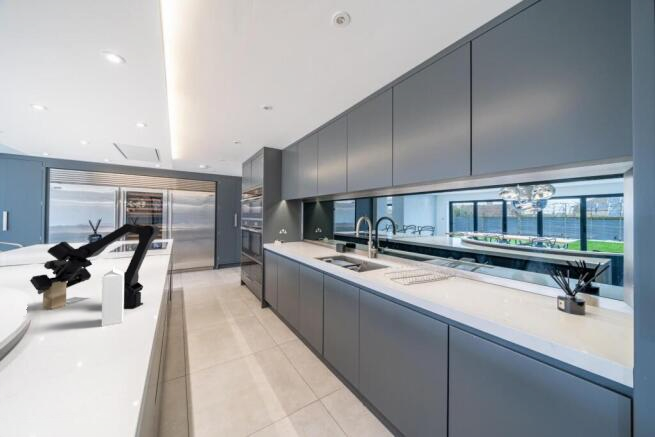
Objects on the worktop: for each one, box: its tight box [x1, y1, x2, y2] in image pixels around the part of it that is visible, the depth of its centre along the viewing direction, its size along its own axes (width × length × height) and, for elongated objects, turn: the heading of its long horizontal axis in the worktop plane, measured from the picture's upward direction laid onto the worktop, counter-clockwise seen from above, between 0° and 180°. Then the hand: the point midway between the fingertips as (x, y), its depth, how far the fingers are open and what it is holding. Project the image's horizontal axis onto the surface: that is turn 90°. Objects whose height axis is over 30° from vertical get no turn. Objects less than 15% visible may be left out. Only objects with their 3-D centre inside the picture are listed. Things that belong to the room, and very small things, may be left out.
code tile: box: [66, 296, 91, 306], centre depth 116 cm, size 10×9×1 cm
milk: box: [101, 265, 125, 327], centre depth 94 cm, size 6×6×22 cm
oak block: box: [42, 281, 67, 311], centre depth 107 cm, size 5×5×12 cm
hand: (52, 290), depth 107 cm, fingers open, 9 cm apart
